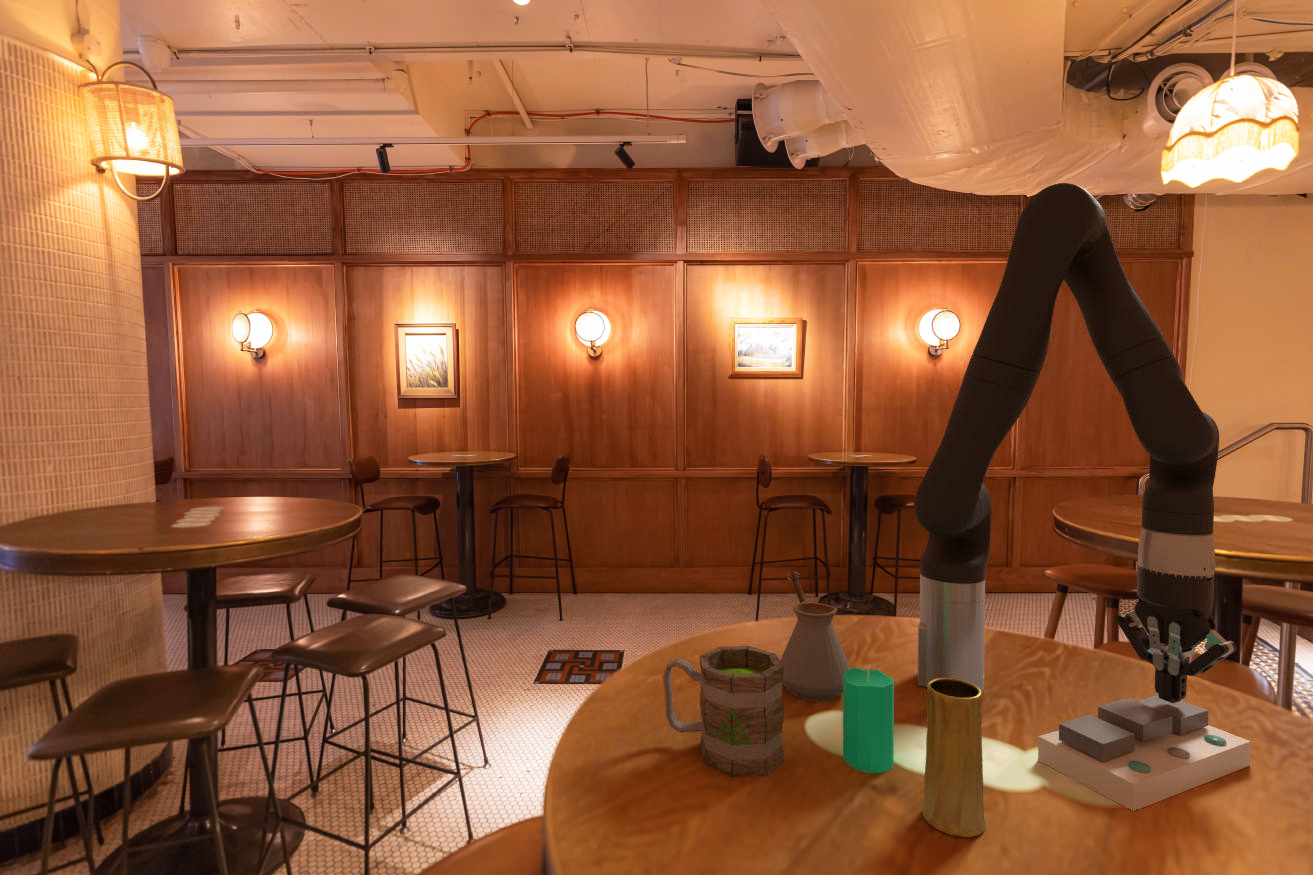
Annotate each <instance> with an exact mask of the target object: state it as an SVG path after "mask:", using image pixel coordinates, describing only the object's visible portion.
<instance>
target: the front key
mask: <svg viewBox="0 0 1313 875" xmlns="http://www.w3.org/2000/svg"><path fill="white" fill-rule="evenodd" d="M1058 730H1059V740H1060V741H1062V742H1064V743H1066V744H1068V745H1070V746H1073V747H1075V748H1077V749H1079V750H1081V751H1083V752H1085V753H1087V754H1089V755H1091V756H1093V757H1095V758H1097V759H1099V760H1101V761H1106V760H1109V759H1111V758H1114V757H1117V756H1120V755H1123V754H1126V753H1129V752H1132V751H1134V745H1135V734H1133V733H1131V732H1129V731H1126V730H1124V729H1122V728H1120V727H1117V726H1115V725H1113V724H1110V723H1108V722H1106V721H1103V720H1101V719H1099V718H1098V716H1094V715H1092V714H1088V715H1087V714H1086V715H1083V716H1081V717H1077V718H1074V719H1070V720H1067V721H1063V722H1060V723H1058Z"/></svg>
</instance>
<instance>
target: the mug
mask: <svg viewBox="0 0 1313 875" xmlns="http://www.w3.org/2000/svg"><path fill="white" fill-rule="evenodd" d="M698 658H699V665H700V672H698V671H697V670H696V668H694V667H693V666H692V665H691V664H690V662H688V661H686V660H684V659H682V658H681V657H679V658H676V659H673V660H670V661H668V662H667V663H666V666H665V668H664V672H663V674H662V679H663V680H662V681H663V688H664V689H663V690H664V706H665V717H666V719H667V721H668V724H669V726H670V728H671V729H673V730H675V731H676V732H679V733H680V734H681V733H688V732H689V733H690V732H701V737H700V745H699V747H700V752H701V756H702V761H703V765H705V766H707V767H709V768H711V769H713V770H716V771H717V772H720V773H721V774H725V775H726V776H729V777H731V778H739V777H740V778H743V777H762V776H763V777H765V776H768V775H769V774H771V772H773V771H774V770H775V769H777V768H778V767H779V766H780V765H781V764H782V763H784V762H785V757H784V748H783V726H784V717H785V716H784V714H785V713H784V704H783V683H782V677H783V669H784V666H783V664H782V663H781V661H780V660H781V659H780V658H779V657H778V655H777V654H776V653H775V652H773V651H768V650H765V649H760V648H757V647H754V646H751V645H740V646H739V645H738V646H737V645H735V646H732V645H731V646H717V647H714V648H713V649H711V650H709V651H706V652H704V653H702V654H700V655H699V656H698ZM675 667H678V668H679V669H681V670H683V671H684V672H685V674H686V675H687V676H688V677H689V678H690V680H692V681H694V682H698V683H700V694H699V696H700V697H699V705H700V706H699V707H700V715H701V716H700V717H701V721H694V722H693V721H692V722H686V723H682V722H680V721H678V720H677V718H676V715H675V713H674V703H673V702H674V701H673V700H674V699H673V696H674V694H673V684H672V680H671V679H672V678H671V673H672V668H675Z"/></svg>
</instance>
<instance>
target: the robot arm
mask: <svg viewBox="0 0 1313 875" xmlns="http://www.w3.org/2000/svg"><path fill="white" fill-rule="evenodd" d="M1106 219H1107V218H1106V213H1105V210H1104V208H1103V207H1102V205H1101V204H1100V203H1099V201H1098V200H1097V199H1096V198H1095V197H1094V196H1093V195H1092V194H1091V193H1090V192H1089V191H1087V190H1086V189H1085V188H1084V187H1082V186H1080V185H1077V184H1074V183H1071V182H1058V183H1054V184H1051V185H1048V186H1047V187H1045V188H1042V189H1041V190H1040V191H1039V192H1037V193H1036V194H1034V195H1033V197H1031V198H1030V200H1029V201H1028V202H1027V203H1026V204H1025V206H1024V208H1023V210H1022V211H1021V213H1020V215H1019V218H1018V220H1017V224H1016V227H1015V230H1014V231H1015V232H1014V233H1013V234H1014V235H1013V239H1012V243H1011V247H1010V250H1009V255H1008V259H1007V261H1006V262H1007V263H1006V266H1005V270H1004V274H1003V277H1002V279H1001V283H1000V286H999V288H998V291H997V293H996V296H995V298H994V300H993V302H992V304H991V306H990V310H989V311H988V315H987V317H986V319H985V322H984V325H983V327H982V330H981V333H980V335H979V337H978V340H977V342H976V345H975V347H974V349H973V352H972V354H971V357H970V359H969V362H968V365H967V367H966V369H965V373H964V374H963V378H962V381H961V385H960V387H959V391H958V393H957V396H956V398H955V402H954V404H953V407H952V410H951V413H950V415H949V419H948V421H947V423H946V424H947V425H946V428H945V430H944V434H943V437H942V438H941V442H940V444H939V446H938V449H937V451H936V453H935V455H933V458H932V461H931V462H930V465H929V466H928V467H927V470H926V472H925V474H924V476H923V477H922V479H921V482H920V483H919V486H918V487H917V490H916V492H915V495H914V501H913V505H914V506H913V509H914V514H915V517H916V519H917V521H918V523H919V525H921V527H922V528H923V529H924V530H925V531H926V532H928V539H927V543H926V547H925V548H924V551H923V552H922V555H921V556H920V561H919V562H920V563H919V564H920V565H919V568H920V569H919V572H920V575H919V580H920V581H919V582H920V583H919V586H920V587H919V623H918V626H917V627H918V629H917V685H918V686H919V687H924V688H927V684H928V682H929V681H930V680H932V679H935V678H955V679H960V680H964V681H967V682H970V683H972V684H974V685H976V686H977V687H979V688H980V690H981V692H982V693H983V692H984V690H985V638H986V637H985V636H986V635H985V634H986V632H985V628H986V627H985V624H986V620H985V615H986V611H985V610H986V609H985V608H986V568H987V564H988V562H989V558H990V552H991V550H990V549H991V532H992V531H991V530H992V502H991V496H990V493H989V490H988V489H987V487H986V485H985V484H984V481H985V477H986V475H987V472H988V468H989V466H990V464H991V461H992V459H993V457H994V455H995V453H996V452H997V450H998V448H999V447H1000V445H1002V442H1003V441H1004V439H1005V438H1006V437H1007V435H1008V434H1009V433H1010V431H1011V430H1012V428H1014V425H1015V423H1017V421H1018V419H1019V418H1020V416H1021V415H1022V413H1023V412H1024V410H1025V408H1026V406H1027V405H1028V403H1029V400H1030V398H1031V397H1032V394H1033V392H1034V389H1035V387H1036V384H1037V382H1038V380H1039V377H1040V376H1041V372H1042V369H1043V367H1044V364H1045V361H1046V358H1047V354H1048V349H1049V345H1050V338H1051V330H1052V324H1053V316H1054V309H1055V304H1056V301H1057V296H1058V294H1059V291H1060V288H1061V286H1062V284H1063V282H1065V284H1066V285H1067V287H1068V289H1069V290H1070V292H1071V294H1072V296H1073V297H1074V299H1075V301H1076V303H1077V304H1078V307H1079V310H1080V312H1081V314H1082V318H1083V320H1084V322H1085V325H1086V329H1087V331H1088V334H1089V337H1090V340H1091V342H1092V344H1093V347H1094V349H1095V351H1096V354H1097V355H1098V357H1099V359H1100V361H1101V364H1102V365H1103V367H1104V369H1105V370H1106V372H1107V375H1108V376H1109V378H1110V380H1111V381H1112V383H1113V385H1114V387H1115V388H1116V390H1117V392H1119V395H1120V396H1121V397H1122V402H1123V404H1124V407H1125V411H1126V412H1127V415H1128V418H1129V420H1130V422H1131V426H1132V428H1133V430H1134V433H1135V435H1136V436H1137V439H1138V441H1139V442H1140V444H1141V446H1142V447H1143V449H1144V450H1145V451H1146V453H1147V454H1148V455H1149V468H1148V469H1149V470H1148V472H1149V473H1148V482H1147V485H1146V486H1145V489H1144V491H1143V494H1142V496H1143V497H1142V503H1141V505H1142V506H1141V509H1142V510H1141V528H1140V536H1139V541H1138V549H1137V551H1138V552H1137V553H1138V554H1137V580H1136V586H1137V587H1136V595H1137V597H1138V600H1137V602H1136V603H1135V604H1134V608H1133V610H1132V611H1130V612H1129V613H1125V614H1120V615H1116V617H1115V620H1116V623H1117V624H1118V626H1119V627H1120V629H1121V630H1122V632H1123V635H1125V637H1126V639H1127V640H1128V641H1129V643H1130V644H1131V646H1132V648H1133V649H1134V651H1135V653H1136V654H1137V655H1138V658H1139V659H1141V660H1143V661H1147V662H1148V663H1150V664H1152V666H1153V668H1154V670H1155V671H1154V690H1155V693H1156V694H1158V695H1159V698H1160V699H1162V700H1165V701H1168V702H1170V703H1176V702H1179V701H1180V700H1184V699H1185V698H1186V696H1187V687H1188V683H1187V682H1188V680H1187V679H1188V676H1189V677H1193V676H1197V675H1199V674H1205V673H1206V672H1208V671H1209V670H1211V669H1212V668H1213V667H1215V666H1216V665H1218V664H1219V663H1221V662H1222V661H1224V660H1225V659H1226V658H1228V657H1229V656H1231V654H1233V653H1234V652H1236V651H1237V650H1238V649H1237V648H1238V647H1237V644H1236V643H1235V642H1234V641H1232V640H1226V639H1225V638H1224V637H1223V636H1222V635H1221V634H1220V633H1218V632H1217V630H1216V628H1217V626H1216V622H1215V621H1214V618H1213V616H1212V612H1213V607H1214V593H1215V592H1214V591H1215V589H1214V588H1215V570H1216V566H1217V565H1216V564H1217V563H1216V549H1215V541H1214V519H1215V503H1214V502H1215V501H1214V483H1215V478H1216V473H1217V466H1218V458H1219V448H1220V432H1219V427H1218V425H1217V422H1216V421H1215V419H1213V417H1211V416H1210V415H1209V414H1207V413H1206V412H1205V411H1202V410H1201V408H1200V406H1199V404H1198V402H1197V401H1196V399H1195V398H1194V396H1193V395H1192V393H1191V392H1190V390H1189V388H1188V386H1187V384H1186V383H1185V381H1184V380H1183V372H1182V369H1181V366H1180V363H1179V360H1177V358H1176V356H1175V355H1174V352H1173V350H1172V349H1171V346H1169V344H1168V342H1167V340H1166V338H1165V337H1164V335H1163V333H1162V332H1161V330H1160V328H1159V326H1158V325H1157V324H1156V322H1155V320H1154V319H1153V317H1152V315H1151V314H1150V313H1149V311H1148V309H1147V308H1146V306H1145V305H1144V304H1143V302H1142V300H1141V298H1140V297H1139V296H1138V294H1137V292H1136V290H1135V289H1134V287H1133V286H1132V284H1131V282H1130V281H1129V279H1128V277H1127V275H1126V272H1125V270H1124V269H1123V267H1122V264H1121V262H1120V259H1119V256H1117V252H1116V248H1115V246H1114V243H1113V240H1112V237H1111V234H1110V230H1109V227H1108V223H1107V221H1106ZM1205 640H1206V642H1205V643H1204V649H1205V650H1206V651H1204V652H1203V653H1201V654H1200V655H1199V656H1197V657H1195V659H1193V660H1192V658H1193V656H1194V655H1195V652H1196V647H1197V646H1198V645H1200V644H1201V643H1202V642H1204V641H1205Z"/></svg>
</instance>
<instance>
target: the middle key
mask: <svg viewBox="0 0 1313 875" xmlns="http://www.w3.org/2000/svg"><path fill="white" fill-rule="evenodd" d="M1097 709H1098V710H1097V718H1099V719H1101V720H1103V721H1106V722H1108V723H1110V724H1113V725H1115V726H1117V727H1120V728H1122V729H1124V730H1126V731H1129V732H1131V733H1133V734H1135V739H1137V740H1140V741H1142V742H1144V741H1147V740H1150V739H1153V738H1156V737H1159V736H1162V735H1165V734H1168V733H1171V732H1172V722H1173V716H1171V715H1169V714H1166V713H1163V712H1161V711H1158V710H1156V709H1153V708H1151V707H1148V706H1145V705H1143V704H1140V703H1138V702H1135V700H1132V699H1130V698H1128V697H1127V698H1123V699H1120V700H1116V701H1113V702H1109V703H1105V704H1102V705H1098V707H1097Z"/></svg>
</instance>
